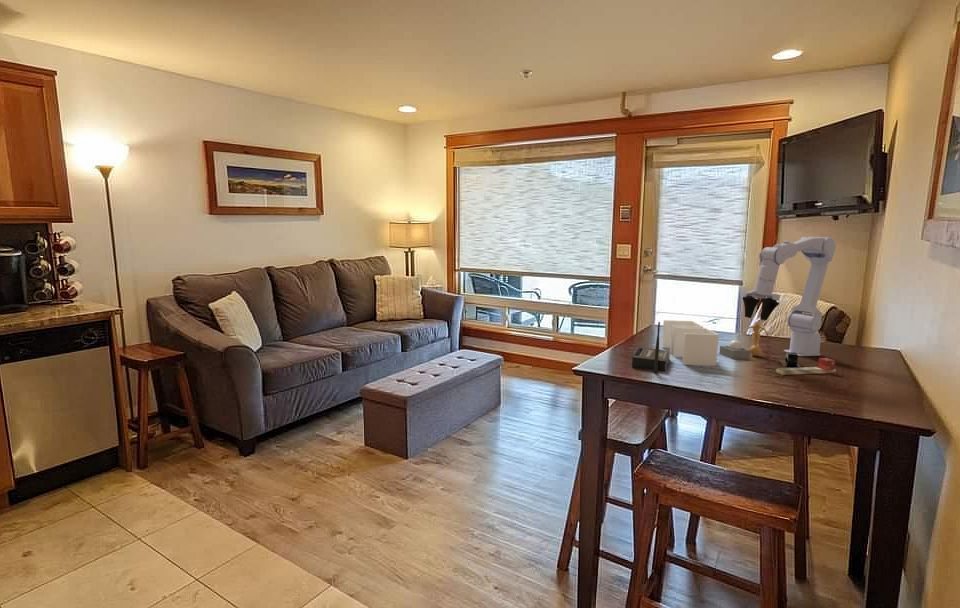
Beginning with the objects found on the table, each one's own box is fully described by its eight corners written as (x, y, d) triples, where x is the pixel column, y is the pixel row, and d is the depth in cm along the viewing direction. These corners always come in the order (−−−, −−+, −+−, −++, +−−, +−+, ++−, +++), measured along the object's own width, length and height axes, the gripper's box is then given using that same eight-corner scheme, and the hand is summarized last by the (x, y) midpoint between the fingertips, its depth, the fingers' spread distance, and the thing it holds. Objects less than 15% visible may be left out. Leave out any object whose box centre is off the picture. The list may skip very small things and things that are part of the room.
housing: (736, 353, 191) (737, 345, 190) (749, 358, 184) (750, 350, 183) (719, 353, 189) (720, 345, 189) (732, 358, 182) (732, 350, 182)
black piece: (806, 372, 169) (808, 358, 168) (781, 369, 172) (783, 356, 171) (798, 362, 180) (799, 350, 180) (775, 360, 183) (776, 348, 182)
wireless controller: (633, 356, 184) (636, 310, 181) (674, 361, 178) (678, 314, 175) (624, 370, 166) (627, 319, 163) (669, 376, 160) (673, 323, 157)
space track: (827, 370, 170) (829, 357, 169) (836, 373, 166) (838, 359, 166) (775, 372, 166) (777, 358, 165) (783, 375, 163) (785, 361, 162)
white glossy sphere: (736, 350, 189) (737, 338, 188) (744, 354, 184) (745, 341, 184) (725, 351, 188) (726, 339, 187) (733, 354, 184) (734, 342, 183)
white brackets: (715, 366, 172) (718, 334, 171) (683, 365, 173) (685, 333, 171) (690, 348, 197) (692, 321, 195) (661, 347, 198) (663, 320, 196)
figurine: (743, 356, 186) (747, 324, 184) (740, 352, 192) (743, 321, 190) (769, 358, 184) (772, 325, 182) (764, 354, 190) (768, 322, 188)
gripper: (741, 277, 182) (731, 313, 183) (771, 279, 168) (760, 318, 169) (758, 282, 184) (748, 318, 184) (789, 284, 170) (778, 323, 170)
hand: (755, 318), depth 177 cm, fingers open, 7 cm apart
